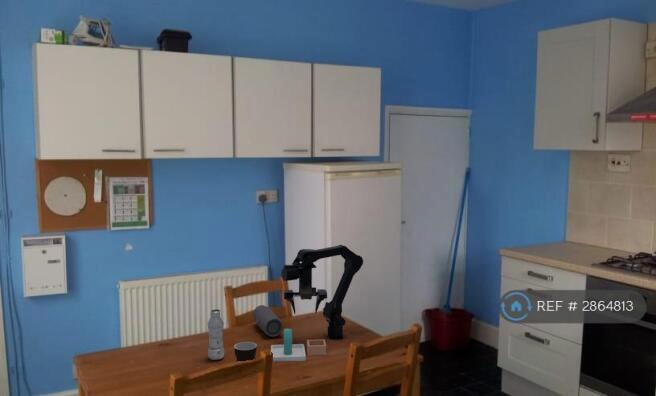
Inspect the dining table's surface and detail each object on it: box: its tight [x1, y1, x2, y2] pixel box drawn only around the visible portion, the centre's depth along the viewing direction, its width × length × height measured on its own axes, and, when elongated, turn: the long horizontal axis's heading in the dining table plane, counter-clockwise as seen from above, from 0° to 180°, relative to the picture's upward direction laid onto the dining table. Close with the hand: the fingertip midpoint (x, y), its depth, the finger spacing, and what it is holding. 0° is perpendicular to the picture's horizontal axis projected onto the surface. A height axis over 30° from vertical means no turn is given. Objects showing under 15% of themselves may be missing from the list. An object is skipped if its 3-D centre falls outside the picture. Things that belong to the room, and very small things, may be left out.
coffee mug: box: [233, 341, 258, 363], centre depth 209 cm, size 12×9×10 cm
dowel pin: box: [283, 327, 293, 355], centre depth 224 cm, size 3×3×10 cm
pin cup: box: [306, 339, 327, 357], centre depth 227 cm, size 8×8×4 cm
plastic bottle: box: [207, 308, 225, 361], centre depth 219 cm, size 6×7×20 cm
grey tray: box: [270, 343, 307, 363], centre depth 224 cm, size 14×14×2 cm
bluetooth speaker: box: [252, 304, 283, 338], centre depth 253 cm, size 23×9×10 cm, turn 21°
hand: (305, 313), depth 238 cm, fingers open, 9 cm apart
